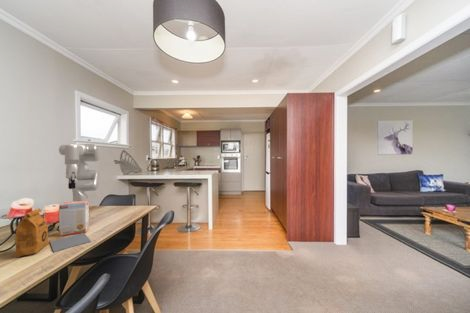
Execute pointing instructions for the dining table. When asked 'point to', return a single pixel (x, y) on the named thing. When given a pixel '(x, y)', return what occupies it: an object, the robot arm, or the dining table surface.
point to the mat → (69, 242)
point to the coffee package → (31, 234)
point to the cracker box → (73, 218)
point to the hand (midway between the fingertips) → (71, 188)
